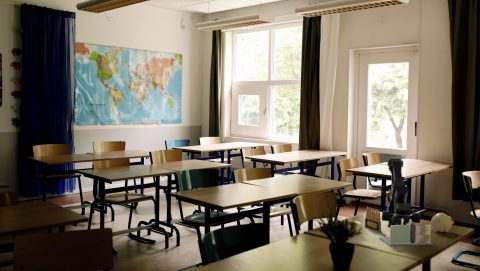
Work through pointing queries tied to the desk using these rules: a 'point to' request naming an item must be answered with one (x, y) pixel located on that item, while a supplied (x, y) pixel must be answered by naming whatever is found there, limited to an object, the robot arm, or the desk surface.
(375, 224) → the ammunition clip
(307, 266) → the desk surface
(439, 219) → the cream rounded piece
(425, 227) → the fixed fence panel
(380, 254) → the desk surface
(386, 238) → the card
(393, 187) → the robot arm
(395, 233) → the panel
